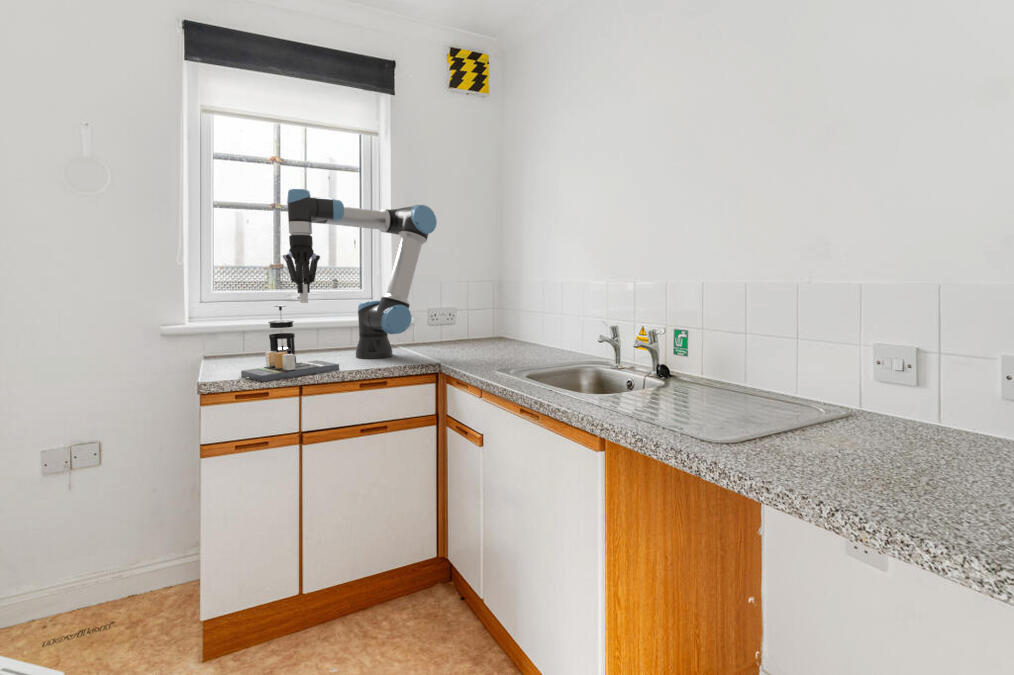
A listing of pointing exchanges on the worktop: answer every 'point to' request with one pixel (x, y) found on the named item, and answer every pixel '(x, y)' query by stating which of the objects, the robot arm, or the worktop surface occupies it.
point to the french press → (282, 335)
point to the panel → (289, 374)
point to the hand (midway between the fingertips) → (304, 302)
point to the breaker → (279, 359)
